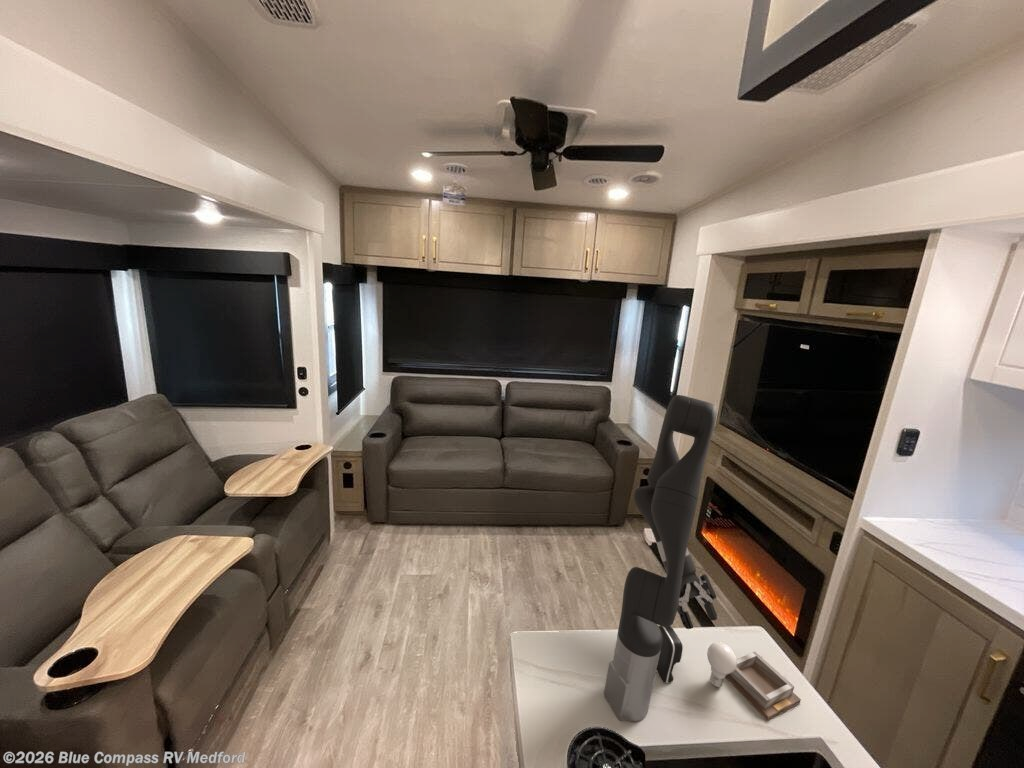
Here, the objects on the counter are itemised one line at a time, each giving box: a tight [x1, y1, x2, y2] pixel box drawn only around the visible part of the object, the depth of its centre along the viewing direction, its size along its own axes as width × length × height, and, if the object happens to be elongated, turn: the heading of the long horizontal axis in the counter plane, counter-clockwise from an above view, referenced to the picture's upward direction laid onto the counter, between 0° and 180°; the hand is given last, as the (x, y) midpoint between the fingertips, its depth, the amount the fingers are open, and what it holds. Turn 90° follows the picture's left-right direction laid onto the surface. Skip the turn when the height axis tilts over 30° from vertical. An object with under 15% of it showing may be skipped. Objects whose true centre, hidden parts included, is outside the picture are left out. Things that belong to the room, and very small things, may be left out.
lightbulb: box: [706, 641, 738, 688], centre depth 95 cm, size 6×6×11 cm
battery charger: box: [656, 625, 684, 684], centre depth 98 cm, size 7×4×11 cm, turn 7°
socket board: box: [724, 651, 802, 721], centre depth 97 cm, size 12×13×4 cm
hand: (702, 624), depth 100 cm, fingers open, 8 cm apart
